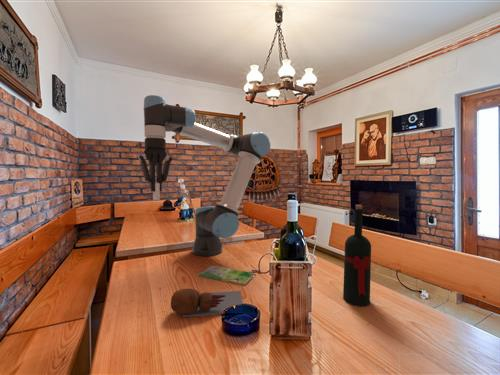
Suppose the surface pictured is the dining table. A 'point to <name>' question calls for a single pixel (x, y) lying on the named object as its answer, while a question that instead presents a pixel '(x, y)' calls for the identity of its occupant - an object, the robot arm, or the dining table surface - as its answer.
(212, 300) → the wooden figurine
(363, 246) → the wine bottle
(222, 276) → the green number grid board
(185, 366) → the dining table surface
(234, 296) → the charcoal rubber mat
